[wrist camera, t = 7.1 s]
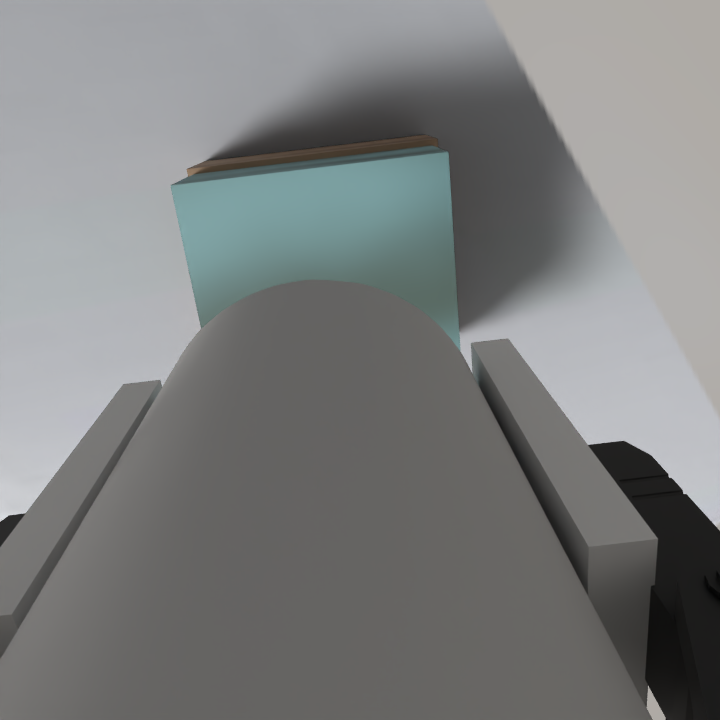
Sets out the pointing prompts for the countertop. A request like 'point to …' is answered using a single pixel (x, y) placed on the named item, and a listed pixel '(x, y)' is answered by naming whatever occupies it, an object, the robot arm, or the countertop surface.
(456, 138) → the countertop surface
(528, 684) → the beverage can
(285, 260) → the teal and brown block
